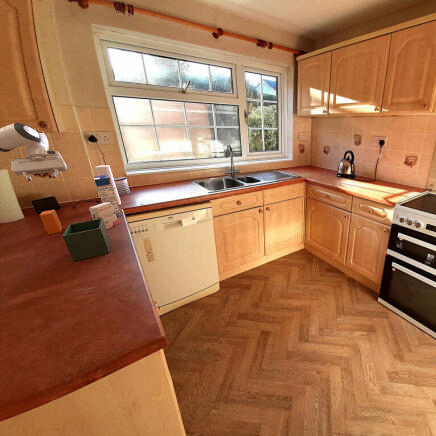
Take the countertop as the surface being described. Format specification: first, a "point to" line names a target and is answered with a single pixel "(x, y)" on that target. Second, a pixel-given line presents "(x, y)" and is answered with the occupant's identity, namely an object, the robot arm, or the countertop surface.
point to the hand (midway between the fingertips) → (42, 178)
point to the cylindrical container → (107, 171)
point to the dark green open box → (87, 239)
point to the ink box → (104, 214)
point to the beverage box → (107, 192)
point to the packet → (51, 221)
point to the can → (122, 186)
